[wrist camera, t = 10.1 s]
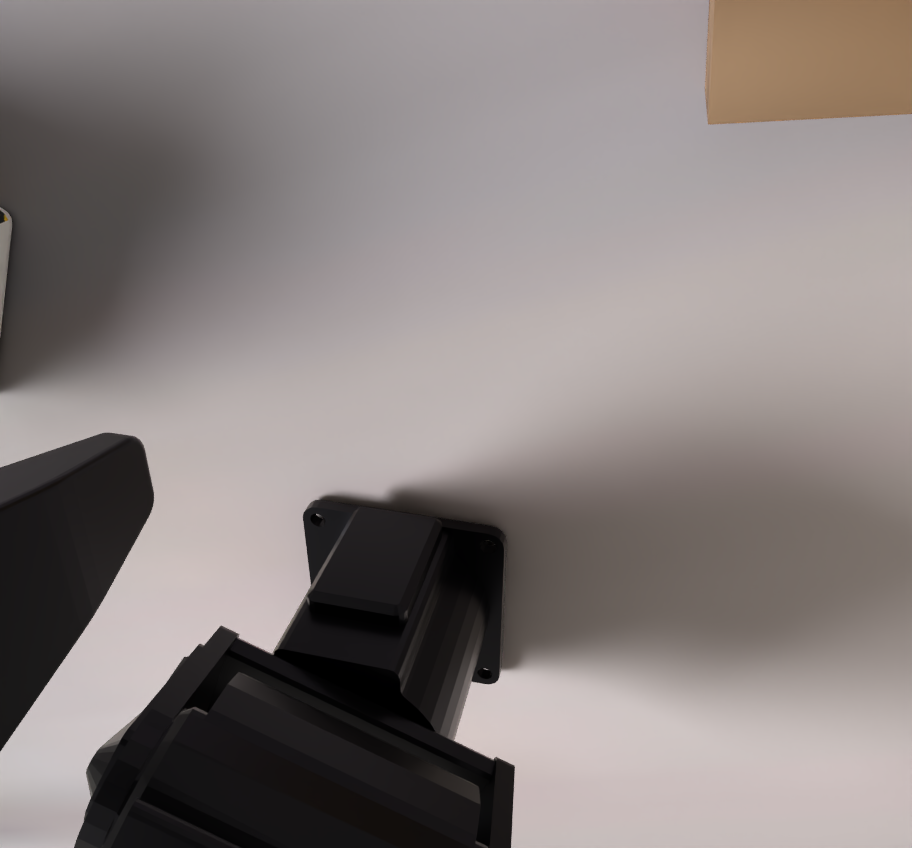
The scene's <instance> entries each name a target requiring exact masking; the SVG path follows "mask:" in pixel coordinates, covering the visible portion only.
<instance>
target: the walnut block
mask: <svg viewBox="0 0 912 848" xmlns="http://www.w3.org/2000/svg"><path fill="white" fill-rule="evenodd" d="M705 96H706V107H707V117H708V124H727V123H746V122H765V121H784V120H803V119H823V118H842V117H861V116H880V115H899V114H912V0H709V19H708V39H707V59H706V79H705Z"/></svg>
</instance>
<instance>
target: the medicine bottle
mask: <svg viewBox="0 0 912 848" xmlns="http://www.w3.org/2000/svg"><path fill="white" fill-rule="evenodd" d="M11 232H12V218H11V216H10V215H9V213H8V212H7V211H5V210H4V209H3V208H1V207H0V336H1V326H2V317H3V307H4V298H5V288H6V279H7V269H8V260H9V250H10V241H11Z"/></svg>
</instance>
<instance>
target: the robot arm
mask: <svg viewBox="0 0 912 848" xmlns="http://www.w3.org/2000/svg"><path fill="white" fill-rule="evenodd" d="M153 502H154V491H153V486H152V482H151V477H150V472H149V467H148V463H147V458H146V453H145V449H144V445H143V444H142V442H141V441H140V440H139V439H138V438H136V437H134V436H129V435H122V434H115V433H102V434H99V435H96V436H93V437H90V438H87V439H84V440H81V441H78V442H75V443H72V444H69V445H66V446H63V447H60V448H57V449H54V450H51V451H48V452H45V453H42V454H39V455H36V456H33V457H30V458H28V459H25V460H22V461H19V462H16V463H13V464H10V465H7V466H4V467H1V468H0V751H1V750H2V748H3V747H4V745H5V744H6V742H7V741H8V740H9V738H10V737H11V735H12V734H13V732H14V731H15V729H16V728H17V727H18V725H19V724H20V722H21V721H22V719H23V718H24V717H25V715H26V714H27V712H28V711H29V709H30V708H31V706H32V705H33V704H34V702H35V701H36V699H37V698H38V696H39V695H40V693H41V692H42V691H43V689H44V688H45V686H46V685H47V683H48V682H49V680H50V679H51V678H52V676H53V675H54V673H55V672H56V670H57V669H58V667H59V666H60V665H61V663H62V662H63V660H64V659H65V657H66V656H67V654H68V653H69V652H70V650H71V649H72V647H73V646H74V644H75V643H76V641H77V640H78V639H79V637H80V636H81V634H82V633H83V631H84V630H85V628H86V627H87V625H88V624H89V622H90V621H91V619H92V618H93V616H94V614H95V613H96V611H97V609H98V608H99V606H100V604H101V602H102V601H103V599H104V597H105V596H106V594H107V592H108V590H109V588H110V586H111V585H112V583H113V581H114V579H115V577H116V576H117V574H118V572H119V570H120V568H121V566H122V565H123V563H124V561H125V559H126V557H127V555H128V554H129V552H130V550H131V548H132V546H133V545H134V543H135V541H136V539H137V537H138V535H139V534H140V532H141V530H142V528H143V526H144V524H145V523H146V521H147V519H148V517H149V515H150V513H151V510H152V507H153ZM316 514H320V515H322V516H323V517H324V519H322V518H319V517H318V516H317V515H316ZM303 521H304V530H305V538H306V546H307V555H308V563H309V571H310V579H311V587H310V589H309V590H308V592H307V594H306V596H305V597H304V599H303V601H302V603H301V604H300V606H299V608H298V610H297V611H296V613H295V615H294V617H293V618H292V620H291V622H290V624H289V625H288V627H287V629H286V630H285V632H284V634H283V636H282V637H281V639H280V641H279V643H278V644H277V646H276V648H275V650H274V651H273V653H272V654H271V653H269V652H267V651H265V650H263V649H261V648H259V647H256V646H254V645H252V644H250V643H248V642H246V641H244V640H242V639H240V638H238V637H239V634H238V633H236V632H233V631H231V630H229V629H227V628H225V627H223V626H220V627H219V628H218V630H217V631H216V632H215V633H214V634H213V636H212V637H211V638H210V639H209V640H208V642H207V643H206V644H205V645H202V644H199V645H198V646H197V647H196V648H195V650H194V651H193V652H192V653H191V654H190V656H189V657H184V658H183V660H182V661H181V662H180V664H179V665H178V667H177V668H176V670H175V671H174V673H173V674H172V675H171V677H170V678H169V680H168V681H167V683H166V684H165V685H164V686H163V688H162V689H161V690H160V691H159V692H158V694H157V695H156V696H155V697H154V698H153V700H152V701H151V702H150V703H149V704H148V705H147V707H146V708H145V709H144V710H143V711H142V712H141V713H140V714H139V715H138V716H137V717H135V718H134V719H133V720H132V721H131V722H130V723H128V724H127V725H126V726H125V727H124V728H123V729H121V730H120V731H119V732H118V733H117V734H115V735H114V736H113V737H112V738H111V739H110V740H108V741H107V742H106V743H105V744H104V745H103V746H101V747H100V748H99V750H98V751H97V752H96V754H95V755H94V757H93V758H92V760H91V762H90V764H89V766H88V768H87V771H86V775H87V780H88V785H89V790H90V795H91V799H90V802H89V804H88V807H87V809H86V812H85V817H84V823H83V825H82V828H81V830H80V832H79V835H78V837H77V840H76V843H75V847H74V848H511V834H512V813H513V792H514V771H515V767H514V765H512V764H510V763H508V762H505V761H503V760H501V759H499V758H497V757H495V758H494V760H493V759H491V758H489V757H487V756H485V755H482V754H480V753H478V752H476V751H474V750H472V749H470V748H468V747H466V746H464V745H462V744H459V743H457V742H455V741H454V739H455V736H456V732H457V729H458V725H459V722H460V718H461V715H462V712H463V708H464V705H465V701H466V698H467V694H468V691H469V688H470V684H471V681H472V682H477V683H482V684H493V683H495V682H496V681H498V679H499V676H500V672H501V668H502V646H503V621H504V596H505V572H506V547H507V540H506V536H505V534H504V533H503V532H502V531H501V530H500V529H498V528H497V527H493V526H489V525H483V524H476V523H469V522H463V521H456V520H450V519H443V518H436V517H430V516H423V515H417V514H410V513H403V512H397V511H390V510H384V509H377V508H370V507H364V506H357V505H351V504H344V503H337V502H331V501H324V500H315V501H313V502H311V503H310V504H309V506H308V507H307V509H306V510H305V512H304V514H303ZM484 540H489V541H492V542H493V543H494V544H495V545H488V544H486V543H485V542H484ZM483 668H486V669H488V670H485V669H483Z"/></svg>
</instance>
